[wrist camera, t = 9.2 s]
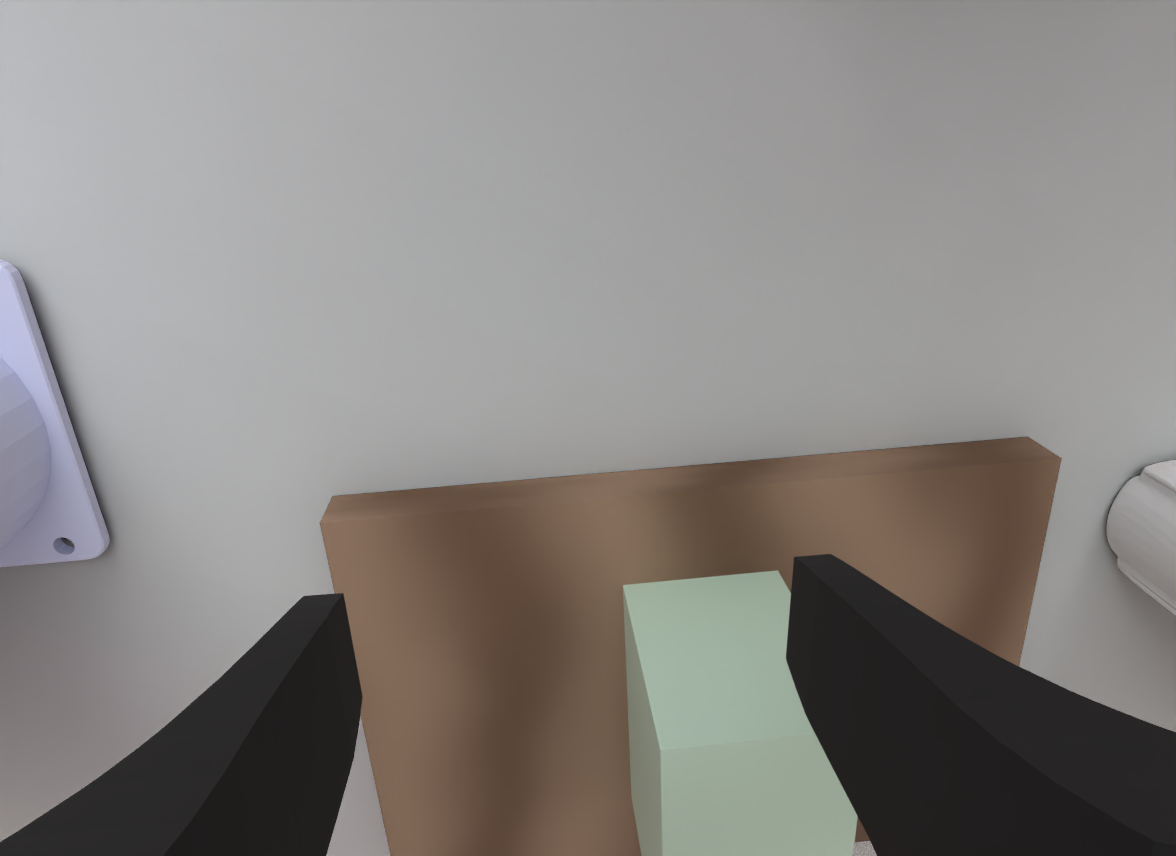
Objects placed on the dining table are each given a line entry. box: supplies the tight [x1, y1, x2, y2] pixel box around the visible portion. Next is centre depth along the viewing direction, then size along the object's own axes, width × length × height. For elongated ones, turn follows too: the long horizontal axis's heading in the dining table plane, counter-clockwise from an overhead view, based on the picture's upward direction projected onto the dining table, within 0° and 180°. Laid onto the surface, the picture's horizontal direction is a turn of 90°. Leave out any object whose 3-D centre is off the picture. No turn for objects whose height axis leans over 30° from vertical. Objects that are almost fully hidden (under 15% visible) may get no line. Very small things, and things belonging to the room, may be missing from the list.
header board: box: [320, 437, 1061, 856], centre depth 23 cm, size 20×14×4 cm
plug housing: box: [623, 570, 858, 856], centre depth 20 cm, size 4×8×6 cm, turn 3°
